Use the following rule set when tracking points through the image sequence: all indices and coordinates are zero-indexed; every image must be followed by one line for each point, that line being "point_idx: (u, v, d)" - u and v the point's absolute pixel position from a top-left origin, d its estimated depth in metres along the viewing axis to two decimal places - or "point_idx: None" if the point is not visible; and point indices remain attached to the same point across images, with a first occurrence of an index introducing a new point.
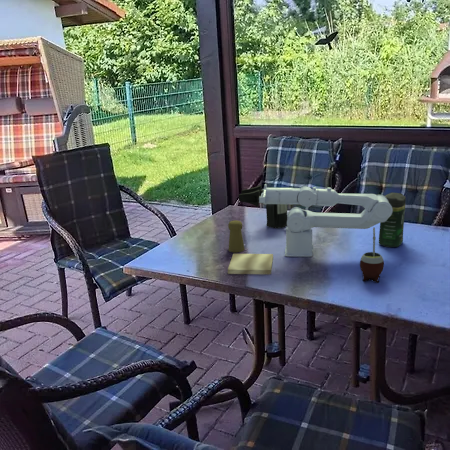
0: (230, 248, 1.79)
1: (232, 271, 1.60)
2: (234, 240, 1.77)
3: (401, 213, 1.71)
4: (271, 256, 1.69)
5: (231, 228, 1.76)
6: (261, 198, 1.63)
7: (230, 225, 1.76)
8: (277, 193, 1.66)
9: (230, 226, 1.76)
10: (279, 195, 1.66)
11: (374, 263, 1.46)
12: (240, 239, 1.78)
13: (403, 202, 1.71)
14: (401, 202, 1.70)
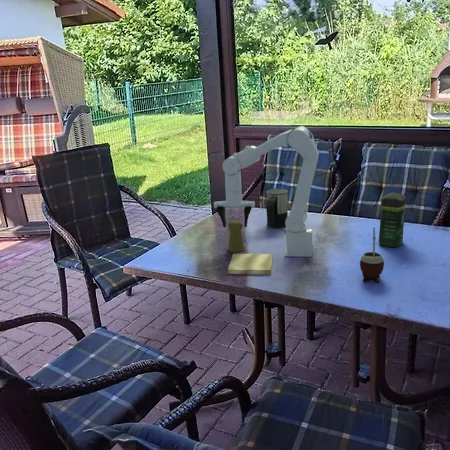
0: (230, 248, 1.79)
1: (232, 271, 1.60)
2: (234, 240, 1.77)
3: (401, 213, 1.71)
4: (271, 256, 1.69)
5: (231, 228, 1.76)
6: None
7: (230, 225, 1.76)
8: None
9: (230, 226, 1.76)
10: (229, 191, 1.72)
11: (374, 263, 1.46)
12: (240, 239, 1.78)
13: (403, 202, 1.71)
14: (401, 202, 1.70)
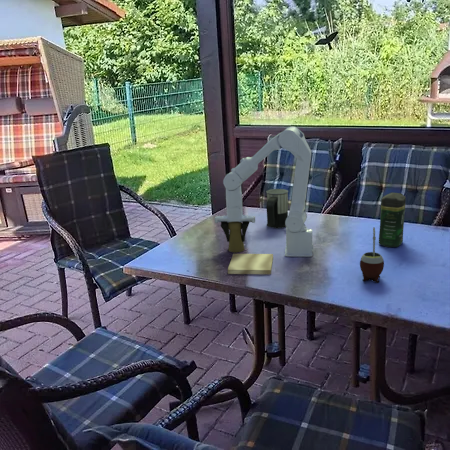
0: (230, 248, 1.79)
1: (232, 271, 1.60)
2: (234, 240, 1.77)
3: (401, 213, 1.71)
4: (271, 256, 1.69)
5: (231, 228, 1.76)
6: None
7: (230, 225, 1.76)
8: None
9: (230, 226, 1.76)
10: (229, 206, 1.73)
11: (374, 263, 1.46)
12: (240, 239, 1.78)
13: (403, 202, 1.71)
14: (401, 202, 1.70)
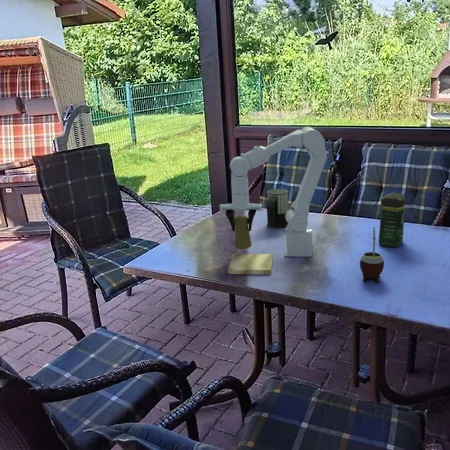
0: (236, 244, 1.72)
1: (232, 271, 1.60)
2: (240, 236, 1.70)
3: (401, 213, 1.71)
4: (271, 256, 1.69)
5: (237, 224, 1.69)
6: None
7: (235, 221, 1.69)
8: None
9: (236, 222, 1.69)
10: (238, 194, 1.64)
11: (374, 263, 1.46)
12: (246, 235, 1.70)
13: (403, 202, 1.71)
14: (401, 202, 1.70)
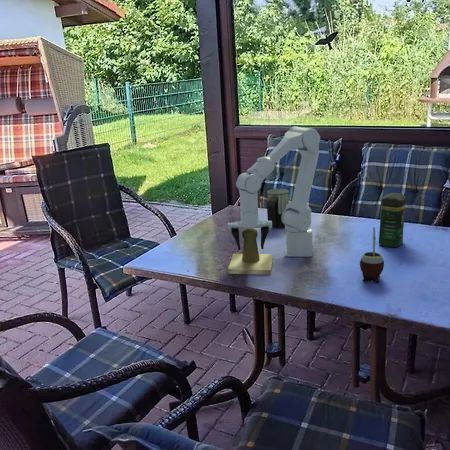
0: (245, 258, 1.65)
1: (232, 271, 1.60)
2: (250, 250, 1.63)
3: (401, 213, 1.71)
4: (271, 256, 1.69)
5: (246, 237, 1.62)
6: None
7: (244, 233, 1.62)
8: None
9: (245, 235, 1.62)
10: (251, 211, 1.57)
11: (374, 263, 1.46)
12: (256, 248, 1.64)
13: (403, 202, 1.71)
14: (401, 202, 1.70)
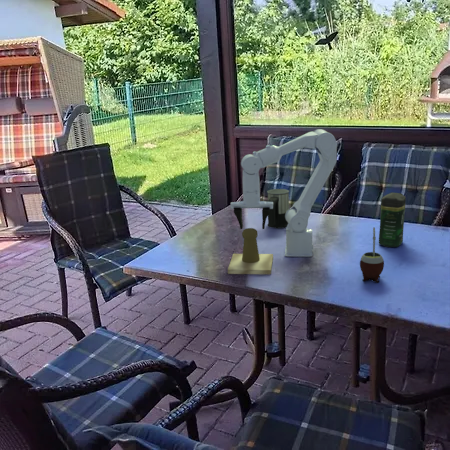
0: (245, 258, 1.65)
1: (232, 271, 1.60)
2: (250, 249, 1.63)
3: (401, 213, 1.71)
4: (271, 256, 1.69)
5: (246, 237, 1.62)
6: None
7: (244, 233, 1.62)
8: None
9: (245, 235, 1.62)
10: (249, 191, 1.64)
11: (374, 263, 1.46)
12: (256, 248, 1.64)
13: (403, 202, 1.71)
14: (401, 202, 1.70)
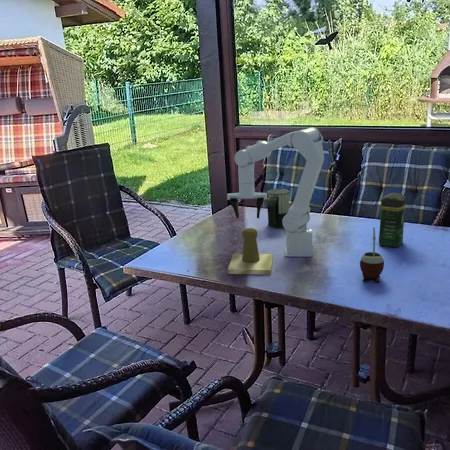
0: (245, 258, 1.65)
1: (232, 271, 1.60)
2: (250, 250, 1.63)
3: (401, 213, 1.71)
4: (271, 256, 1.69)
5: (246, 237, 1.62)
6: None
7: (244, 233, 1.62)
8: None
9: (245, 235, 1.62)
10: (240, 182, 1.77)
11: (374, 263, 1.46)
12: (256, 248, 1.64)
13: (403, 202, 1.71)
14: (401, 202, 1.70)
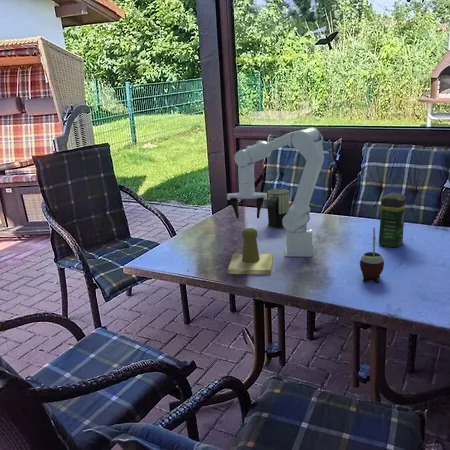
0: (245, 258, 1.65)
1: (232, 271, 1.60)
2: (250, 250, 1.63)
3: (401, 213, 1.71)
4: (271, 256, 1.69)
5: (246, 237, 1.62)
6: None
7: (244, 233, 1.62)
8: None
9: (245, 235, 1.62)
10: (240, 182, 1.77)
11: (374, 263, 1.46)
12: (256, 248, 1.64)
13: (403, 202, 1.71)
14: (401, 202, 1.70)
